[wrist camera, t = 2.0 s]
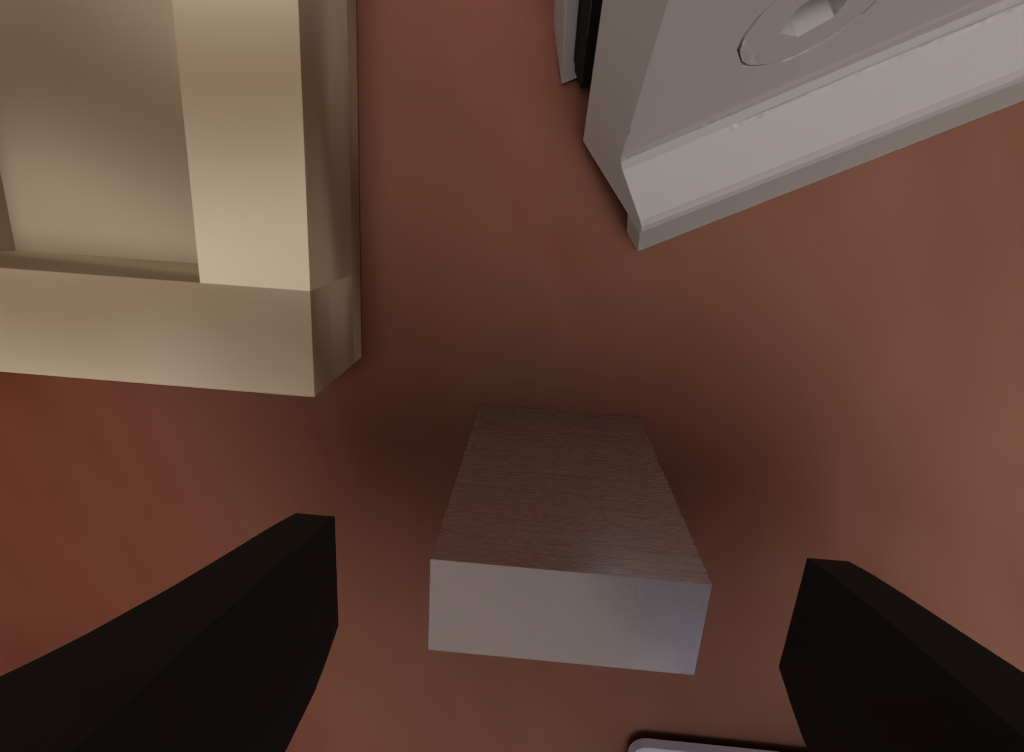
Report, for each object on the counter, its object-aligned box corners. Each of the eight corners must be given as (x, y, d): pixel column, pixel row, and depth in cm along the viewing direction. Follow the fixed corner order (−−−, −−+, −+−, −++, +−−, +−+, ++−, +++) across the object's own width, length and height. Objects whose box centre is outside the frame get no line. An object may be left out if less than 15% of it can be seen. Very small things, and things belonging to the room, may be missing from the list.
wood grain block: (479, 403, 14) (430, 559, 8) (639, 416, 14) (712, 584, 8) (472, 540, 16) (425, 767, 9) (619, 554, 15) (670, 792, 9)
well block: (361, 357, 14) (314, 396, 11) (-27, 326, 14) (-169, 357, 12) (354, -136, 11) (287, -253, 8) (-136, -160, 11) (-363, -280, 9)
